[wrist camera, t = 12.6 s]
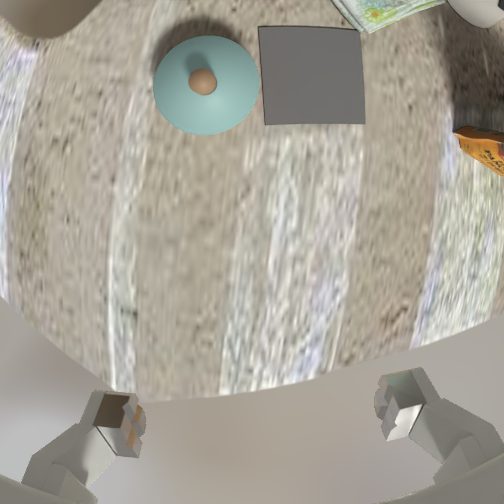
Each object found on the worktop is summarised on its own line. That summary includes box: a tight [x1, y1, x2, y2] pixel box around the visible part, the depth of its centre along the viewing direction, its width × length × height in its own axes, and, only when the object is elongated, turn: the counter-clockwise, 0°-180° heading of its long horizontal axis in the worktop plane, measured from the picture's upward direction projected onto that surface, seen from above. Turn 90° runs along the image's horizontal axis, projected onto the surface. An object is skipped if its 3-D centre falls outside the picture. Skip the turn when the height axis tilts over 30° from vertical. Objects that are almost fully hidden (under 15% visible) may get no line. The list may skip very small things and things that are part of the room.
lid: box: [153, 35, 259, 135], centre depth 32 cm, size 12×12×4 cm
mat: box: [258, 27, 365, 125], centre depth 38 cm, size 14×14×1 cm
